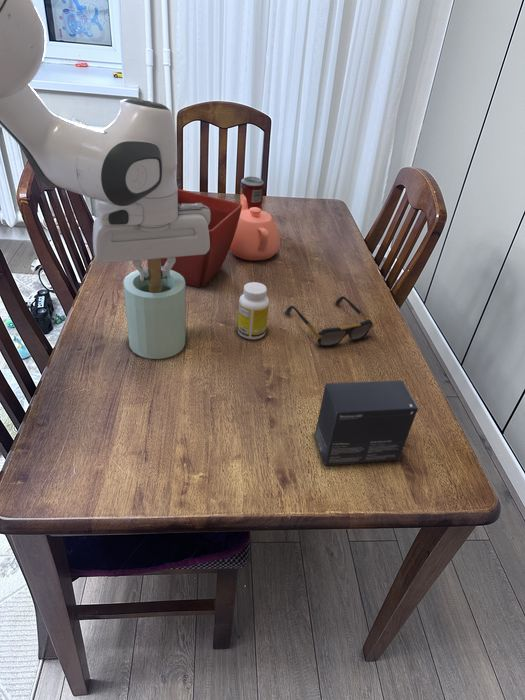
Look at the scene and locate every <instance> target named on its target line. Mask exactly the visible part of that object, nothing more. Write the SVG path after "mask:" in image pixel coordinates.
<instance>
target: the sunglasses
mask: <svg viewBox="0 0 525 700" xmlns="http://www.w3.org/2000/svg"><path fill="white" fill-rule="evenodd" d="M343 300H344V301H345V302H347V304H348V305H349V306H350V307H351V309H353V310H354V311H355V312H356V314H358V315H359V317H360V318H362V319H363V321H361V322H357V323H352V324H347V325H343V326H338V327H326V328H323V329H321V331H319V332H318V331H317V329H316V328H315V327H314V326H313V325H312V324H311V323H310V322H309V320H308V319H306V317H305V316H304V315H303V314H302V313H301V311H299V310H298V308H296V307H295V305H290V306H288V307H287V308H286V310H285V314H286V315H289V314H290V313H291V312H292V310H294V312H296V314H297V315H298V317H299V318H300V319H301V320H302V322H303V323H304V324H305V325H306V326H307V328H308V329H309V330H310V331H311V332H312V333H313V334H314V336H315V337H316V338H317V343H318V345H319V346H321V347H325V348H327V347H332V346H335V345H338V344H339V343H340V342H342V341H343V340H344V338H345V337H346V336H347V335H348V338H349V339H350V340H351V341H359V340H361V339H363V338H366V336H367V335H368V334H369V333H370V330H371V329H372V328H374V326H375V323H373V321H372V319H369V318H368V317H367V316H366V315H365V314H364V313H363V312H362V311H361V310H360V309H359V308H358V307H357V306H356V305H355V304H354V303H353V302H351V301H350V300H349V299H348V298H347V297H346V296H342V295H341V296H340V297H338V298H337V299H336V301H335V305H336V306H338V305H340V304H341V303H342V301H343Z"/></svg>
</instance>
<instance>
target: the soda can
mask: <svg viewBox="0 0 525 700" xmlns="http://www.w3.org/2000/svg"><path fill="white" fill-rule="evenodd" d="M264 187H265V182H264V181H263V180H262V178H260V177H259V176H258V177H257V176H246V177H244V178H242V179H241V181H240V188H239V189H240V190H239V194H240V195H241V194H243V195H244V196H245V197H246V199H247V204H248V209H250V208H252V207H257V208H260V209H261V210H262V209H263V201H264V199H263V198H264ZM240 195H239V196H240ZM239 204H241V198H240V197H239ZM262 211H263V210H262Z"/></svg>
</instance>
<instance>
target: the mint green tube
mask: <svg viewBox="0 0 525 700" xmlns="http://www.w3.org/2000/svg"><path fill="white" fill-rule="evenodd" d="M146 268H147V269H148V267H146ZM122 282H123V283H122V285H123V293H124V304H125V306H124V307H125V315H126V326H127V327H126V328H127V336H128V345H129V348H130V351H132V353H134V354H136V356H139V357H141V358H144V359H150V360H162V359H167V358H170V357H174V356H176V355H177V354H179V353H180V352H181V351H182V350H183V349H184V348H185V345H186V336H187V335H186V332H187V331H186V330H187V329H186V328H187V327H186V325H187V323H186V315H187V314H186V311H187V310H186V306H187V305H186V284H185V280H184V277H183V276H182V275H180V274H179V273H177V272H175V271H173V270H170V278H163V279H162V292H161V293H149V281H148V280H145V281H141V279H140V273H139V271H138V270H137V269H136V270H133V271H132V272H130V273H129V274H128V275H126V276H125V277H124V279H123V281H122Z"/></svg>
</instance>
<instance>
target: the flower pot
mask: <svg viewBox="0 0 525 700" xmlns="http://www.w3.org/2000/svg"><path fill="white" fill-rule="evenodd" d="M195 203H202V204H203V205H205V206H207V207H208V208H209V209H210V213H211V216H210V223H209V225H208V230H209V238H210V249H209V251H208V252H207V253H206V254H203V255H192V256H181V257H176V262H175V264H174V265H173V267H172V268H171V270H173V271H175V272H177V273H179V274H180V275H182V276H183V277H184V280H185V285H189V286H191V287H196V288H203V287H204V286H205V285H207V283H208V282H209V281H211V279H212V278H213V277H214V276H215V275H216V274H217V273H218V272H219V271H220V270H221V269H222V267H223V265H224V263H225V261H226V258H227V256H228V254H229V252H230V250H229V249H230V246H231V243H232V241H233V238H234V235H235V232H236V228H237V225H238V221H239V217H240V213H241V209H242V205H241V204H240V202H235V201H231V200H227V199H224V198H223V199H222V198H217V197H213V196H210V195H205V194H202V193H198V192H194V191H189V190H185V189H181V188H178V204H195ZM166 261H167V259H166V258H161V266H164V265H165V263H166Z"/></svg>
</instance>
